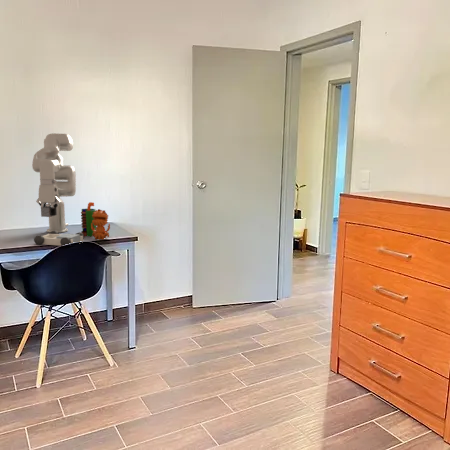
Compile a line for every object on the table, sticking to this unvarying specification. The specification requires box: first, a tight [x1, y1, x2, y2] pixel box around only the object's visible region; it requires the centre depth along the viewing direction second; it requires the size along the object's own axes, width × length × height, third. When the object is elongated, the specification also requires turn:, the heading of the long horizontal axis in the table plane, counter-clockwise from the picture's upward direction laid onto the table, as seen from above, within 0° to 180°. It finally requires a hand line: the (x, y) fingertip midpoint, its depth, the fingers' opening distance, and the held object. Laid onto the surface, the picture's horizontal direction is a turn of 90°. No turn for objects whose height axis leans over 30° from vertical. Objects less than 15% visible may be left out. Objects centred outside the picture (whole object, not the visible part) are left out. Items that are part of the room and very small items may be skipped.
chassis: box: [33, 231, 85, 247], centre depth 250 cm, size 16×22×5 cm
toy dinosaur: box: [91, 209, 111, 240], centre depth 262 cm, size 11×11×18 cm
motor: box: [80, 201, 97, 237], centre depth 272 cm, size 10×9×20 cm
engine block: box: [40, 203, 57, 218], centre depth 248 cm, size 7×5×6 cm
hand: (49, 214), depth 249 cm, fingers closed on engine block, 5 cm apart
